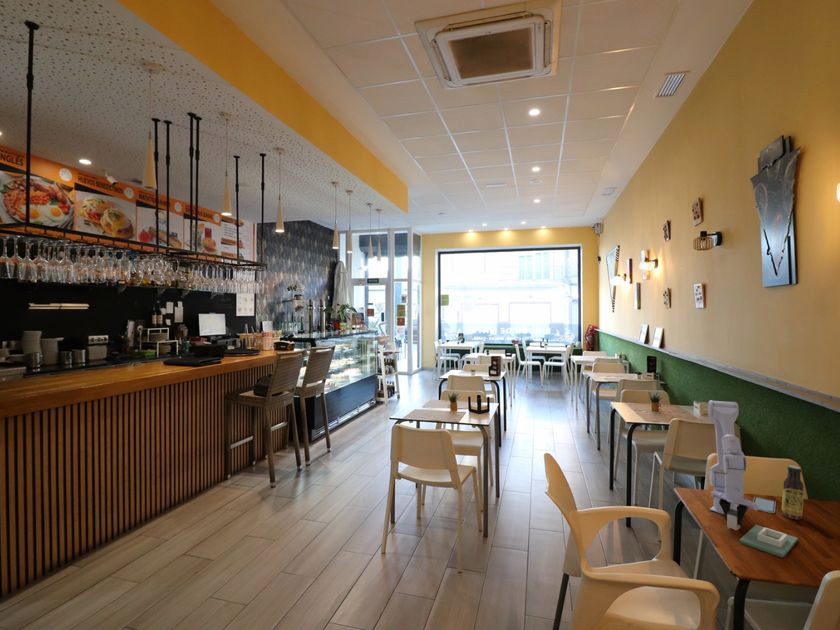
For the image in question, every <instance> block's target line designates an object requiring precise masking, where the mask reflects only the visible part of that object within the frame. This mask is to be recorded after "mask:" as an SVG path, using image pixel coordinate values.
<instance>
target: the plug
mask: <svg viewBox="0 0 840 630" xmlns="http://www.w3.org/2000/svg"><path fill="white" fill-rule="evenodd" d="M737 520H738V514H737V510H733V509H730V510H729V511H727V521H726V528H727V527H728V528H727V529H730V528H732V529H734V531H735V530H737V531H738V530H740V528H741V525H738V524H737ZM732 529H731V530H732Z"/></svg>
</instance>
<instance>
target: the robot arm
mask: <svg viewBox="0 0 840 630" xmlns="http://www.w3.org/2000/svg"><path fill="white" fill-rule="evenodd" d="M739 408H740V407H739V404H738V403H737V402H736V401H718V400H712V399H710V400H709V401H708V402H707V413H708V415H707V417H708V420H709V421H710V422H712V423H713V426H714V433H715V445H716V446H715V448H716V461H717V463H715V464H713V465H711V466H710V468H709V474H708V475H709V477H708V478H709V484H710V486H711V487H712V488H713V491H710V497H711V498H713V506H712V507H710V508H709V510H710V511H712V512H716V513H717V514H720V515H721V514H722V515H724V518H725V521H726V522H727V511H729V510H730V509H733V510H737V514H738V520H737V524H738V525H740V526H741V525H742V524H743V519H744V517H745V515H746V513H747V511H748V510H749V509H752V510H754V511H759V510H758V505H759V504H757V503H754V502H753V501H751V500H749V499H746V498H744V493H745V492H744V488H745V487H744V485H745V481H744V480H745V479H744V478H745V476H744V475H745V474H744V471H746V470H747V459H746V455H745V454H744V452H743V451H742V447H741V441H740V439H739V438H738V437H737V436H735V433H736V432H735V431H736V430H735V422H736V420H737V419H738V417H739V413H740V412H739V411H740V410H739Z"/></svg>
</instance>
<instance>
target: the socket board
mask: <svg viewBox="0 0 840 630" xmlns="http://www.w3.org/2000/svg"><path fill="white" fill-rule="evenodd" d="M798 539H799V538H798V537H796V536H793V535H790V534H787V533H784V532H780V531H777V530H774V529H771V528H768V527H764V526H761V525H758V524H755V525H754V526H752V528H751V529H749V530H748V531H747V532H746V533H745V534H743V536H742V537H741V538H740V539H739V543H740V544H742V545H746V546H749V547H752V548H753V549H757V550H760V551H762V552H765V553H768V554H771V555H774V556H776V557H779V558H782V559H784V558H785V556H786V555H787V554H788V552H790V550H791V549H792V548H793V547H794V545H795V544H797V542H798ZM783 557H784V558H783Z"/></svg>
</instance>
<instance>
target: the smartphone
mask: <svg viewBox="0 0 840 630" xmlns="http://www.w3.org/2000/svg"><path fill="white" fill-rule="evenodd" d="M752 502H754V503H757V504H759V505H758V510H757V511H760V512H764V513H769V514H772V513H773V515H774V513H776V507H777V506H776V505H777V502H776V501H775V500H771V499H767V498H764V497H763V498H762V497H758V496H754V498H753V501H752Z"/></svg>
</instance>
